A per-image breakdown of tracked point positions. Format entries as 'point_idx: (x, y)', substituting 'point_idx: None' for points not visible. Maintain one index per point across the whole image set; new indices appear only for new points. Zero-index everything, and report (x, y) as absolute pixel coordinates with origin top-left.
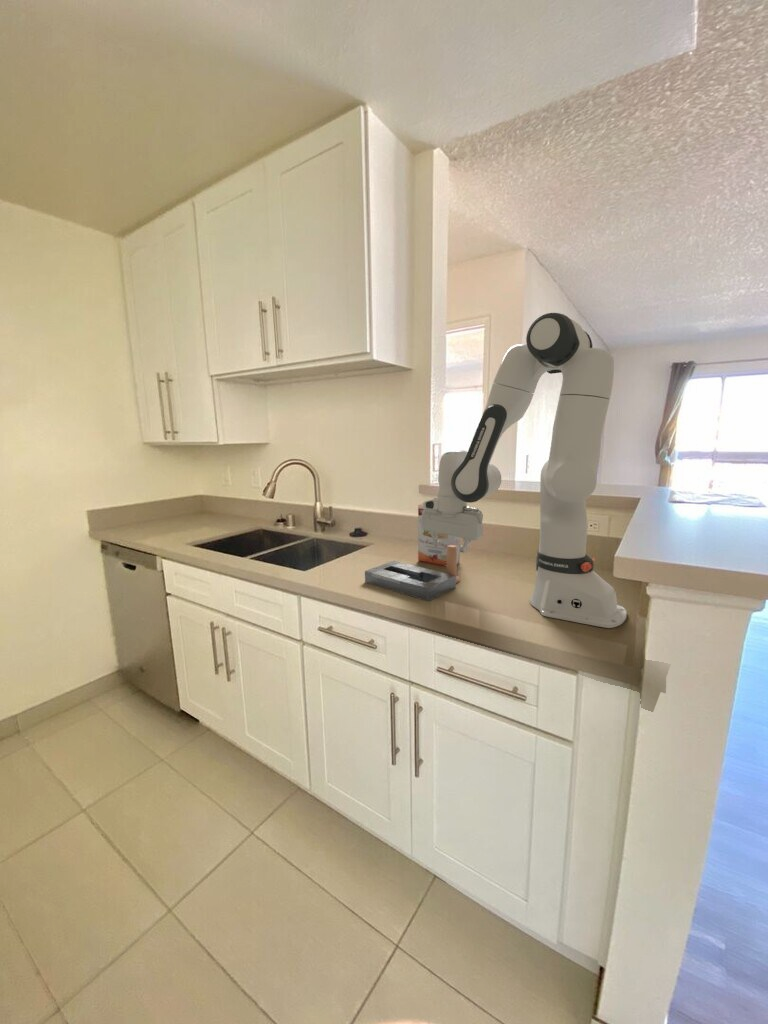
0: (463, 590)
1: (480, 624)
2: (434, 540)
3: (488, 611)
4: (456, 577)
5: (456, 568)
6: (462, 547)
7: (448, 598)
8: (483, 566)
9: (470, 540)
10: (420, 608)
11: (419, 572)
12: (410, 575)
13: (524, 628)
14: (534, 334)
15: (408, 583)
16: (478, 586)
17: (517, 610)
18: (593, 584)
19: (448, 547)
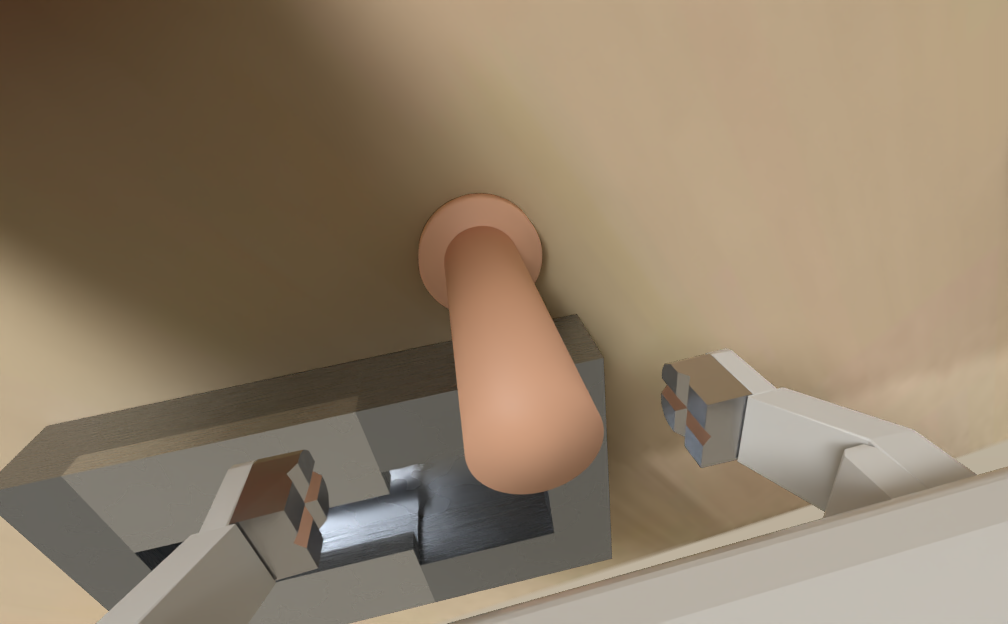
0: (641, 315)
1: None
2: (253, 590)
3: (840, 397)
4: (511, 239)
5: (530, 276)
6: (736, 451)
7: (639, 432)
8: None
9: (923, 451)
10: (612, 546)
11: (386, 488)
12: None
13: (983, 400)
14: None
15: (492, 586)
16: (681, 195)
17: (953, 304)
18: None
19: (529, 491)
